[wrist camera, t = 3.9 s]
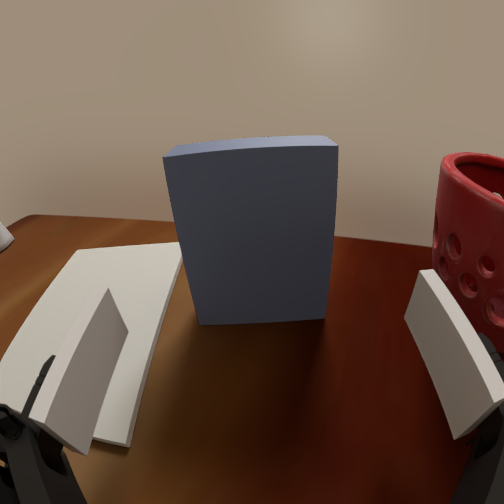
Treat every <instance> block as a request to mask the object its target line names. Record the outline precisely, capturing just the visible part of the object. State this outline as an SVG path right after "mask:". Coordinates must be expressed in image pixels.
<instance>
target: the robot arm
mask: <svg viewBox="0 0 504 504" xmlns="http://www.w3.org/2000/svg"><path fill="white" fill-rule="evenodd" d="M404 319H405V321H406V323H407V325H408V327H409V329H410V331H411V333H412V335H413V337H414V340H415V342H416V344H417V346H418V348H419V351H420V353H421V355H422V357H423V360H424V362H425V364H426V367H427V369H428V371H429V374H430V376H431V378H432V381H433V383H434V386H435V388H436V391H437V394H438V396H439V399H440V401H441V404H442V407H443V409H444V412H445V415H446V418H447V421H448V423H449V426H450V429H451V432H452V435H453V439H454V440H455V439H458V438H460V437H462V436H465V435H467V434H469V433H470V432H472V431H473V430H474V429H475V428H476V427H477V426H478V429H479V431H478V432H477V433H476V434H475V435H473V436H472V437H471V438H470V439H469V440H468V441H467V443H466V445H467V446H468V445H469V444H470V443H471V442H473V441H474V443H473V444H472V445H471V446H470V447H472V449H471V452H470V455H469V457H468V460H467V463H466V466H465V468H464V471H463V473H462V476H461V478H460V481H459V483H458V485H457V488H456V490H455V492H454V494H453V497H452V499H451V501H450V503H449V504H504V363H503V361H501V358H500V356H499V354H498V353H497V351H496V349H495V347H494V345H493V344H492V342H491V340H489V339H488V338H487V337H486V336H485V335H484V334H483V333H479V334H477V333H476V332H475V330H474V328H473V327H472V325H471V323H470V322H469V320H468V319H467V317H466V316H465V314H464V312H463V311H462V309H461V308H460V306H459V305H458V303H457V302H456V300H455V299H454V297H453V296H452V294H451V293H450V292H449V290H448V289H447V287H446V286H445V284H444V283H443V282H442V280H441V279H440V278H439V276H438V275H437V273H436V272H435V271H434V269H430V270H421V271H419V274H418V277H417V280H416V284H415V287H414V290H413V293H412V296H411V299H410V302H409V305H408V308H407V311H406V313H405V316H404ZM128 332H129V331H128V329H127V327H126V325H125V323H124V321H123V319H122V317H121V314H120V312H119V310H118V308H117V306H116V304H115V301H114V299H113V297H112V294H111V292H110V290H109V287H94V289H93V290H92V292H91V294H90V295H89V297H88V299H87V300H86V302H85V304H84V305H83V307H82V309H81V311H80V312H79V314H78V316H77V318H76V319H75V321H74V323H73V325H72V327H71V328H70V330H69V332H68V334H67V336H66V338H65V339H64V341H63V343H62V345H61V347H60V349H59V351H58V353H57V355H51V357H50V358H49V359H48V360H47V361H46V362H45V363H44V364H43V366H42V368H41V370H40V373H39V376H38V377H37V379H36V381H35V385H33V387H32V389H31V392H30V394H29V396H28V398H27V401H26V403H25V405H24V408H23V410H22V412H21V414H20V416H19V415H18V414H17V413H16V412H14V411H13V410H12V409H11V408H10V407H9V406H8V405H6V404H0V460H2V461H3V462H5V467H2V466H0V504H87V502H86V500H85V498H84V496H83V494H82V492H81V489H80V487H79V485H78V483H77V481H76V478H75V476H74V474H73V472H72V469H71V467H70V464H69V462H68V459H67V457H66V454H65V453H64V451H63V450H62V448H63V445H64V446H65V447H67V448H68V449H69V450H71V451H73V452H76V453H79V454H82V455H85V456H88V452H89V448H90V445H91V441H92V437H93V434H94V431H95V427H96V424H97V421H98V417H99V414H100V411H101V408H102V405H103V402H104V399H105V396H106V393H107V390H108V387H109V384H110V381H111V378H112V375H113V372H114V370H115V367H116V364H117V361H118V359H119V356H120V353H121V351H122V348H123V345H124V343H125V340H126V338H127V335H128Z"/></svg>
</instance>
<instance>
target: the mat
mask: <svg viewBox="0 0 504 504" xmlns="http://www.w3.org/2000/svg"><path fill="white" fill-rule="evenodd" d="M182 261H183V258H182V254H181V249H180V245H179V242H175V243H161V244H147V245H133V246H120V247H107V248H95V249H83V250H77V251H76V252H75V254H74V255H73V256H72V257H71V259H70V260H69V261H68V262H67V264H66V265H65V266H64V267H63V269H62V270H61V271H60V273H59V274H58V275H57V276H56V278H55V279H54V280H53V282H52V283H51V284H50V286H49V287H48V289H47V290H46V291H45V293H44V294H43V295H42V297H41V298H40V300H39V301H38V303H37V304H36V305H35V307H34V308H33V310H32V311H31V313H30V314H29V316H28V317H27V319H26V320H25V322H24V323H23V325H22V326H21V328H20V330H19V331H18V333H17V334H16V336H15V338H14V339H13V341H12V343H11V344H10V346H9V348H8V349H7V351H6V353H5V355H4V356H3V358H2V360H1V362H0V404H6V405H8V406H9V407H10V408H11V409H12V410H13V411H14V412H16V413H18V414H21V412H22V410H23V408H24V405H25V403H26V401H27V398H28V396H29V394H30V392H31V389H32V387H33V385H35V381H36V379H37V377H38V376H39V373H40V370H41V368H42V366H43V364H44V363H45V362H46V361H47V360H48V359H49V358H50V357H51V355H57V353H58V351H59V349H60V347H61V345H62V343H63V341H64V339H65V338H66V336H67V334H68V332H69V330H70V328H71V327H72V325H73V323H74V321H75V319H76V318H77V316H78V314H79V312H80V311H81V309H82V307H83V305H84V304H85V302H86V300H87V299H88V297H89V295H90V294H91V292H92V290H93V289H94V287H109V290H110V292H111V294H112V297H113V299H114V301H115V304H116V306H117V308H118V310H119V312H120V314H121V317H122V319H123V321H124V323H125V325H126V327H127V329H128V331H129V332H128V335H127V338H126V340H125V343H124V345H123V348H122V351H121V353H120V356H119V359H118V361H117V364H116V367H115V370H114V372H113V375H112V378H111V381H110V384H109V387H108V390H107V393H106V396H105V399H104V402H103V405H102V408H101V411H100V414H99V417H98V421H97V424H96V427H95V431H94V434H93V437H92V439H94V440H98V441H102V442H106V443H110V444H115V445H119V446H124V447H129V448H130V445H131V440H132V436H133V431H134V427H135V423H136V418H137V414H138V410H139V406H140V402H141V398H142V394H143V390H144V386H145V383H146V379H147V375H148V371H149V368H150V364H151V361H152V357H153V353H154V350H155V346H156V343H157V340H158V336H159V333H160V330H161V326H162V323H163V320H164V316H165V313H166V310H167V307H168V304H169V300H170V297H171V294H172V291H173V288H174V285H175V282H176V279H177V276H178V273H179V270H180V267H181V264H182Z"/></svg>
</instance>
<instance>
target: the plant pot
mask: <svg viewBox="0 0 504 504" xmlns="http://www.w3.org/2000/svg"><path fill="white" fill-rule="evenodd" d="M493 192H496V193H499V194H500V195H501V196H502V198H501V197H499V196H497V195H495V194H493ZM432 263H433V269H434V271H435V272H436V273H437V275H438V276H439V278H440V279H441V280H442V282H443V283H444V284H445V286H446V287H447V289H448V290H449V292H450V293H451V294H452V296H453V297H454V299H455V300H456V302H457V303H458V305H459V306H460V308H461V309H462V311H463V312H464V314H465V316H466V317H467V319H468V320H469V322H470V323H471V325H472V327H473V328H474V330H475V332H476V333H477V334H479V333H483V334H484V335H485V336H486V337H487V338H488V339H489V340H491V342H492V344H493V345H494V347H495V349H496V351H497V353H498V354H499V356H500V358H501V361H503V363H504V159H503V158H500V157H495V156H492V155H488V154H479V153H470V152H462V153H454V154H450V155H447V156H445V157H444V158H443V160H442V162H441V167H440V175H439V183H438V190H437V198H436V207H435V221H434V231H433V247H432Z"/></svg>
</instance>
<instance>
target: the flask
mask: <svg viewBox="0 0 504 504" xmlns="http://www.w3.org/2000/svg"><path fill="white" fill-rule="evenodd" d="M14 239H15V238H14V237H13V236H12V235H11V234H10V232H9V231H8V230H7V229H6V228H5V227H4V225H3V224H2V223H1V222H0V252H1V251H2V250H4V249H5V248H7V247H8V246H9V244H10V243H11V242H12V241H13V240H14Z"/></svg>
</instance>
